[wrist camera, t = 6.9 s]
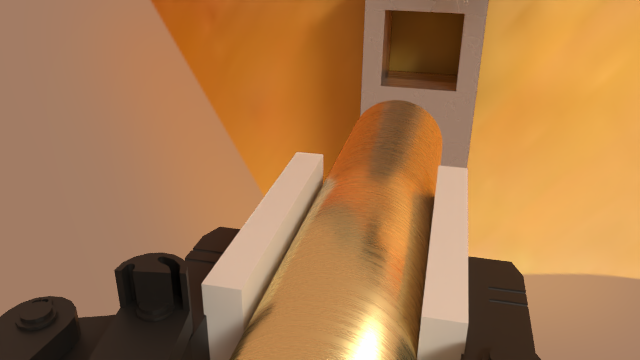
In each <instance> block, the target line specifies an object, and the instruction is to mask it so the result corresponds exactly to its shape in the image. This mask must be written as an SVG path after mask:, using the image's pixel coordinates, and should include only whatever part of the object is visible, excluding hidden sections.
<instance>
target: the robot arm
mask: <svg viewBox="0 0 640 360" xmlns="http://www.w3.org/2000/svg"><path fill="white" fill-rule="evenodd" d="M322 186H323V154H314V153H303V152H296V154H295V155H294V157H293V158H292V159H291V161H290V162H289V163H288V165H287V166H286V168H285V169H284V170H283V172H282V173H281V175H280V176H279V177H278V179H277V180H276V181H275V183H274V184H273V186H272V187H271V188H270V190H269V191H268V192H267V194H266V195H265V197H264V198H263V199H262V201H261V202H260V204H259V205H258V206H257V208H256V209H255V210H254V212H253V213H252V215H251V216H250V217H249V219H248V220H247V222H246V223H245V224H244V226H243V227H242V228H241V229H232V228H225V227H219V228H217V229H215V230H213V231H211V232H210V233H208V234H206V235H204V236H203V237H202V238H201V239H200V241H199V242H198V243H197V244H196V246H195V247H194V248H193V251H190V253H189V254H188V255H187V256H186V258H185V261H184V260H183V259H181V258H179V257H178V256H176V255H173V254H167V253H148V254H144V255H140V256H136V257H133V258H131V259H129V260H127V261H125V262H123V263H122V264H121V265H120V266H119V267H117V268H116V269H115V277H116V283H117V289H118V295H119V301H120V307H121V308H120V309H119V311H118V312H117V314H116V315H110V316H97V317H83V318H78V315H77V311H76V307H75V306H74V304H73V303H72V301H70V300H68V299H65V298H63V297H53V296H48V297H39V298H35V299H32V300H29V301H26V302H23V303H21V304H19V305H17V306H15V307H14V308H12V309H10V310H8V311H7V312H6V313H5V314H3V315H2V316H1V317H0V360H229V359H230V357H231V355H232V354H233V352H234V350H235V348H236V346H237V344H238V342H239V341H240V339H241V337H242V335H243V333H244V331H245V329H246V327H247V326H248V324H249V322H250V320H251V318H252V316H253V314H254V313H255V311H256V309H257V307H258V305H259V303H260V301H261V299H262V298H263V296H264V294H265V292H266V290H267V288H268V286H269V285H270V283H271V281H272V279H273V277H274V275H275V273H276V272H277V270H278V268H279V266H280V264H281V262H282V260H283V258H284V257H285V255H286V253H287V251H288V249H289V247H290V245H291V244H292V242H293V240H294V238H295V236H296V234H297V232H298V230H299V229H300V227H301V225H302V223H303V221H304V219H305V217H306V216H307V214H308V212H309V210H310V208H311V206H312V204H313V202H314V201H315V199H316V197H317V195H318V193H319V191H320V189H321V188H322ZM525 293H526V290H525V285H524V278H523V275H522V274H521V273H520V272H519V271H518V269H517V268H516V267H515V266H514V265H513V263H512V262H507V261H499V260H492V259H484V258H476V257H468V168H460V167H449V166H439V165H438V174H437V183H436V192H435V201H434V210H433V218H432V227H431V236H430V245H429V254H428V263H427V271H426V280H425V289H424V298H423V307H422V316H421V325H420V335H419V345H418V354H417V360H541V359H540V358H539V357H538V355H537V354H536V353H535V348H534V341H533V335H532V329H531V322H530V316H529V309H528V307H527V305H528V303H527V297H526V294H525Z"/></svg>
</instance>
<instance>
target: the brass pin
mask: <svg viewBox="0 0 640 360" xmlns="http://www.w3.org/2000/svg"><path fill="white" fill-rule="evenodd" d="M441 156H442V135H441V131H440V129H439V126H438V124H437V123H436V121H435V120H434V118H433V117H432V116H431V115H430V114H429V113H428V112H427V111H426V110H425V109H423V108H422V107H420V106H418V105H416V104H414V103H411V102H408V101H402V100H389V101H384V102H380V103H378V104H375V105H374V106H372V107H370V108H369V109H367V110H366V111H365V112H364V113H363V114H362V115H361V116H360V118H359V119H358V121H357V122H356V124H355V126H354V128H353V130H352V132H351V133H350V135H349V137H348V139H347V141H346V143H345V145H344V147H343V148H342V150H341V152H340V154H339V156H338V158H337V160H336V161H335V163H334V165H333V167H332V169H331V171H330V173H329V175H328V176H327V178H326V180H325V182H324V184H323V186H322V188H321V189H320V191H319V193H318V195H317V197H316V199H315V201H314V202H313V204H312V206H311V208H310V210H309V212H308V214H307V216H306V217H305V219H304V221H303V223H302V225H301V227H300V229H299V230H298V232H297V234H296V236H295V238H294V240H293V242H292V244H291V245H290V247H289V249H288V251H287V253H286V255H285V257H284V258H283V260H282V262H281V264H280V266H279V268H278V270H277V272H276V273H275V275H274V277H273V279H272V281H271V283H270V285H269V286H268V288H267V290H266V292H265V294H264V296H263V298H262V299H261V301H260V303H259V305H258V307H257V309H256V311H255V313H254V314H253V316H252V318H251V320H250V322H249V324H248V326H247V327H246V329H245V331H244V333H243V335H242V337H241V339H240V341H239V342H238V344H237V346H236V348H235V350H234V352H233V354H232V355H231V357H230V359H229V360H417V354H418V345H419V335H420V325H421V316H422V307H423V298H424V289H425V280H426V271H427V263H428V254H429V245H430V236H431V227H432V218H433V210H434V201H435V192H436V183H437V174H438V165H439V166H440V165H441Z"/></svg>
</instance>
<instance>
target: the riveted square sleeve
mask: <svg viewBox="0 0 640 360" xmlns="http://www.w3.org/2000/svg"><path fill="white" fill-rule="evenodd" d="M488 1H489V0H365V21H364V44H363V66H362V89H361V112H360V116H361V115H362V114H363V113H364V112H365V111H366V110H367V109H369V108H370V107H372V106H374V105H375V104H378V103H380V102H384V101H389V100H402V101H408V102H411V103H414V104H416V105H418V106H420V107H422V108H423V109H425V110H426V111H427V112H428V113H429V114H430V115H431V116H432V117H433V118H434V120H435V121H436V123H437V124H438V126H439V129H440V131H441V135H442V156H441V165H440V166H449V167H460V168H467V162H468V154H469V146H470V139H471V131H472V123H473V116H474V108H475V100H476V93H477V85H478V77H479V70H480V62H481V54H482V47H483V39H484V31H485V24H486V16H487V8H488ZM392 10H400V11H421V12H441V13H462V14H464V21H463V30H462V39H461V47H460V56H459V65H458V73H457V75H445V74H431V73H416V72H402V71H389V57H390V41H391V25H392Z"/></svg>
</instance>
